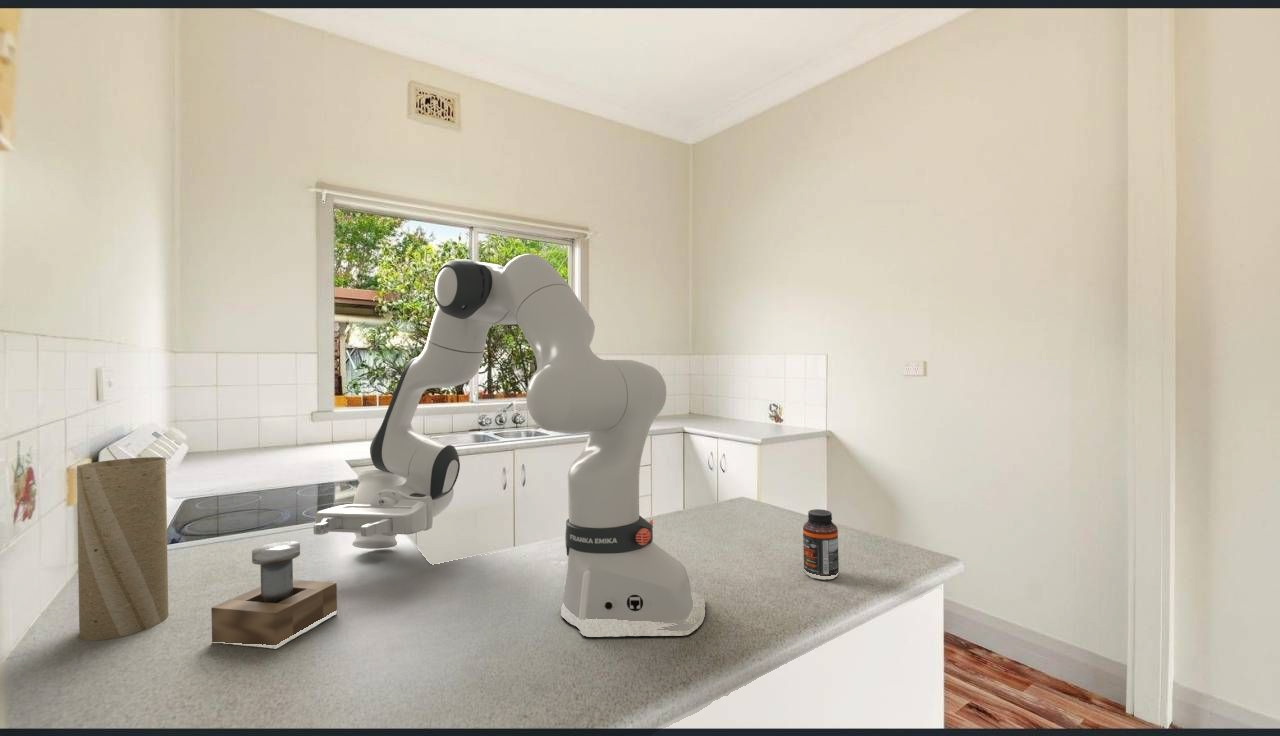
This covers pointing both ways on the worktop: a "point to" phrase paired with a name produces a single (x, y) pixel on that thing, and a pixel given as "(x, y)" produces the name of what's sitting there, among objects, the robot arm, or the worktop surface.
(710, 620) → the worktop surface
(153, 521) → the tube
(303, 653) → the worktop surface
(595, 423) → the robot arm
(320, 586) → the block
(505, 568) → the worktop surface
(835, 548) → the supplement bottle
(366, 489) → the jar
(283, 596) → the pin
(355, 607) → the worktop surface
